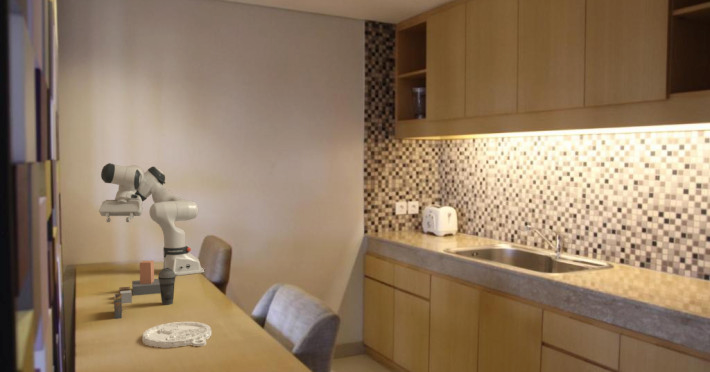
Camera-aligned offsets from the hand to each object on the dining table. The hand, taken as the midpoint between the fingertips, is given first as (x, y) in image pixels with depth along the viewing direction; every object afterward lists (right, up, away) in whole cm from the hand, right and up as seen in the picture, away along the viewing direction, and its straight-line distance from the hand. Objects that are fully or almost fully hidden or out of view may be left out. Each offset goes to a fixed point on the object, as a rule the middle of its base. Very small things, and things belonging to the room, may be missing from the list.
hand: (117, 221), depth 279 cm
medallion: (+55, -37, -78) cm, 102 cm away
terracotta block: (+19, -28, -12) cm, 36 cm away
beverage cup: (+36, -34, -34) cm, 59 cm away
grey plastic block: (+16, -33, -31) cm, 48 cm away
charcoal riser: (+19, -32, -11) cm, 39 cm away
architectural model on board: (+21, -35, -50) cm, 65 cm away
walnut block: (+13, -33, -24) cm, 43 cm away
